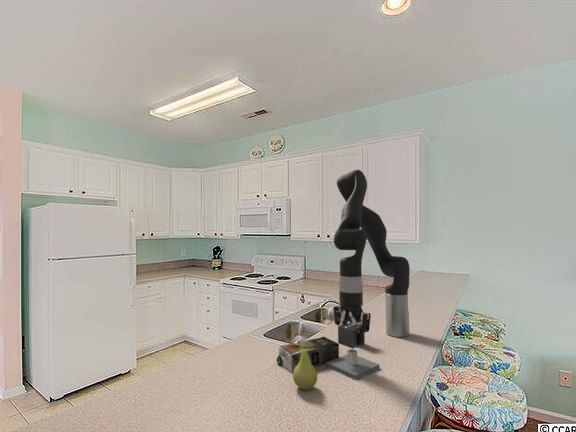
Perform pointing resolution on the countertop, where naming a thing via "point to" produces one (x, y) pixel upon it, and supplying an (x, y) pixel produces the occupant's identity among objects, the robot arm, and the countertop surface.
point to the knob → (348, 335)
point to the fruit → (304, 372)
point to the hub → (352, 365)
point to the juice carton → (316, 349)
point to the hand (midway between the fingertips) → (351, 341)
